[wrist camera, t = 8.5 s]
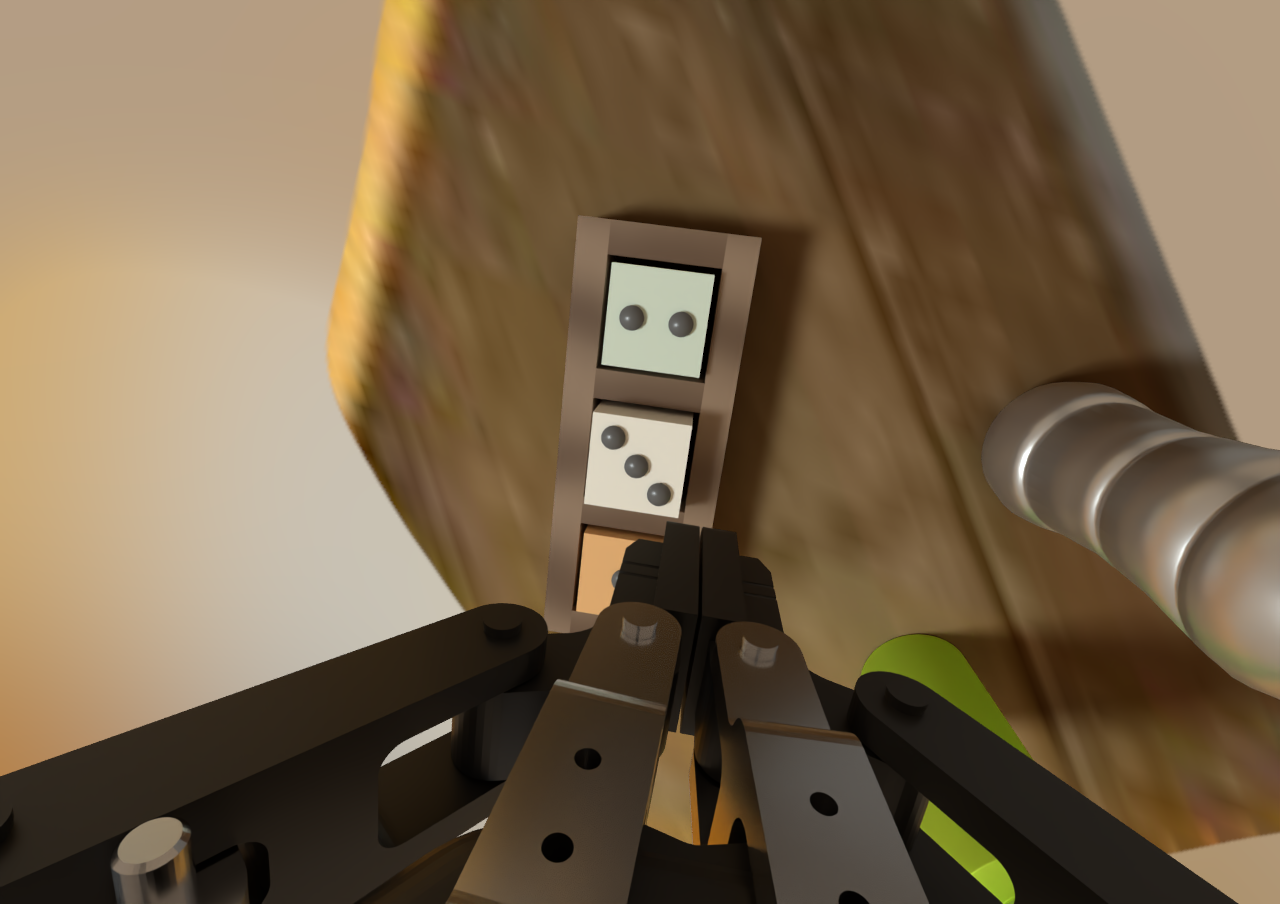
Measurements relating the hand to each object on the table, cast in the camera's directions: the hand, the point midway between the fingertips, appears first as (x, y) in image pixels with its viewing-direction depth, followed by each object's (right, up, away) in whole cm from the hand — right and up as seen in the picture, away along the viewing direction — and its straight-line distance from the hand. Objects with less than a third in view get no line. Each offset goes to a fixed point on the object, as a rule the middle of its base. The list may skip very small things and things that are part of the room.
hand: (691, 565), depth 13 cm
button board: (-1, +3, +19) cm, 19 cm away
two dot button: (0, +9, +17) cm, 19 cm away
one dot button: (-2, -3, +22) cm, 22 cm away
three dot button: (-1, +3, +19) cm, 19 cm away
